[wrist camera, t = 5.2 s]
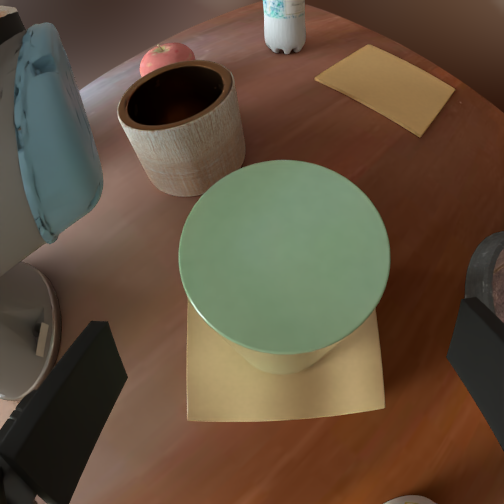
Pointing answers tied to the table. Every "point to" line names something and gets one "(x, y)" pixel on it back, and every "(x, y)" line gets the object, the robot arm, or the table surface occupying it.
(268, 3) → the bottle
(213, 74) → the planter
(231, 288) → the canister
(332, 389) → the plate
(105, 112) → the table surface
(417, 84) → the cork mat
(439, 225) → the table surface
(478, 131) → the table surface
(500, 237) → the tankard
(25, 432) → the robot arm
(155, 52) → the apple
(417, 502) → the cup
